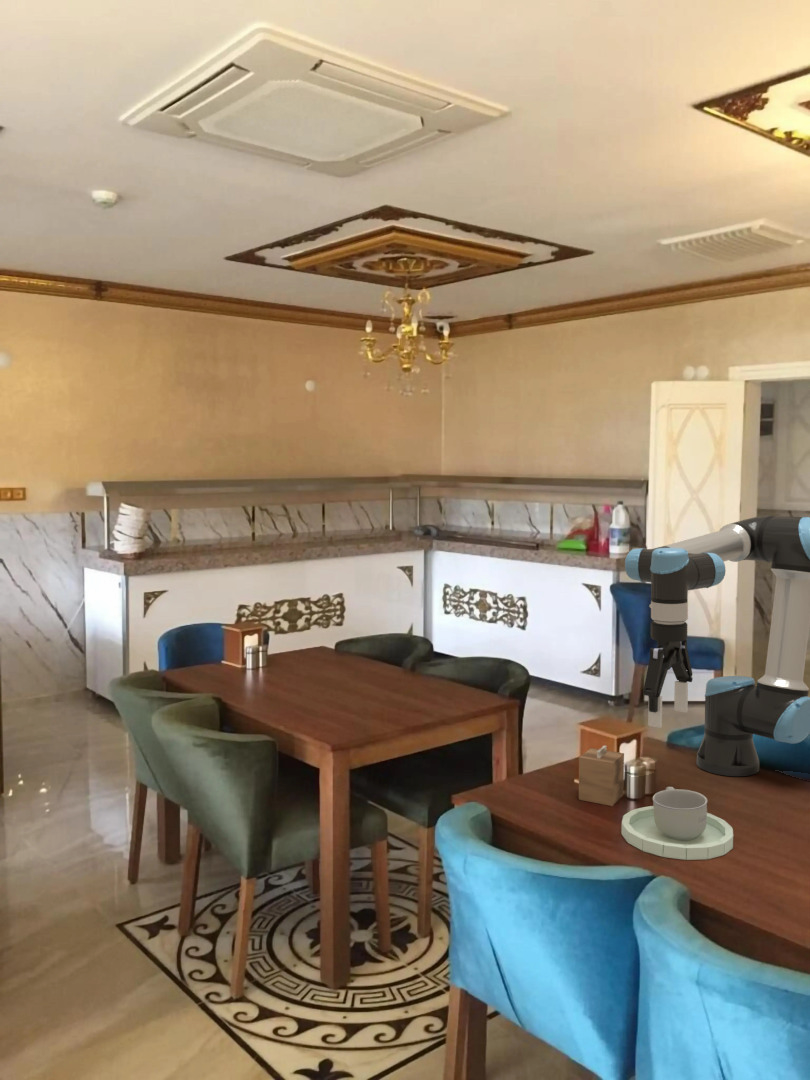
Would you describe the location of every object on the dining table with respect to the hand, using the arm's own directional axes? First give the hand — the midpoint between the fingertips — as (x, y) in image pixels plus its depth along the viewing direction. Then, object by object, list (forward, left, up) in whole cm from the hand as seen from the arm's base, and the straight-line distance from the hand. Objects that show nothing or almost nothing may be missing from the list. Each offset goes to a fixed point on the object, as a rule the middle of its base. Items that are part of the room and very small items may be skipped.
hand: (668, 718), depth 198 cm
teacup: (+6, +5, -22) cm, 23 cm away
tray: (+6, +5, -23) cm, 24 cm away
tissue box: (-4, -18, -23) cm, 29 cm away
